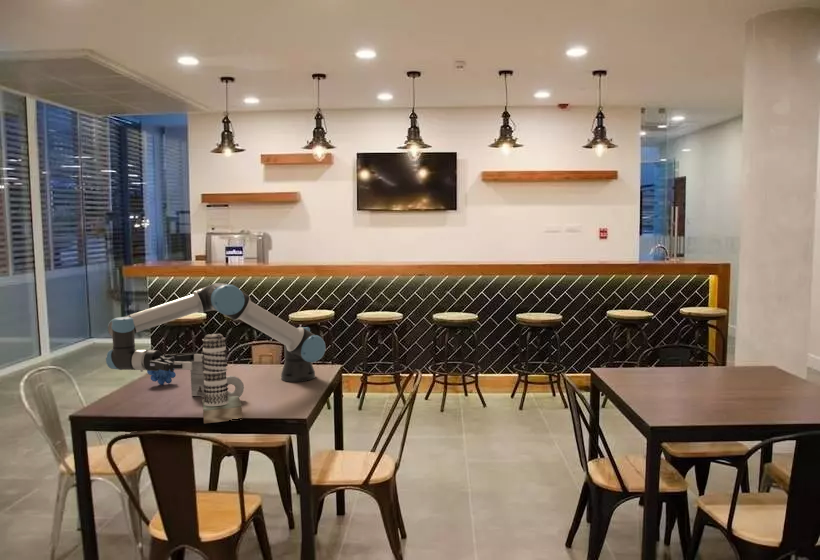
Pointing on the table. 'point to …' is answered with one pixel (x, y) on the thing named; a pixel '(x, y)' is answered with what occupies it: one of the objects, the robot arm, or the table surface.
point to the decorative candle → (215, 370)
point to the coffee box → (197, 379)
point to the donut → (238, 386)
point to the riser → (223, 411)
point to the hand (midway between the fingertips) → (201, 361)
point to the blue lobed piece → (161, 376)
